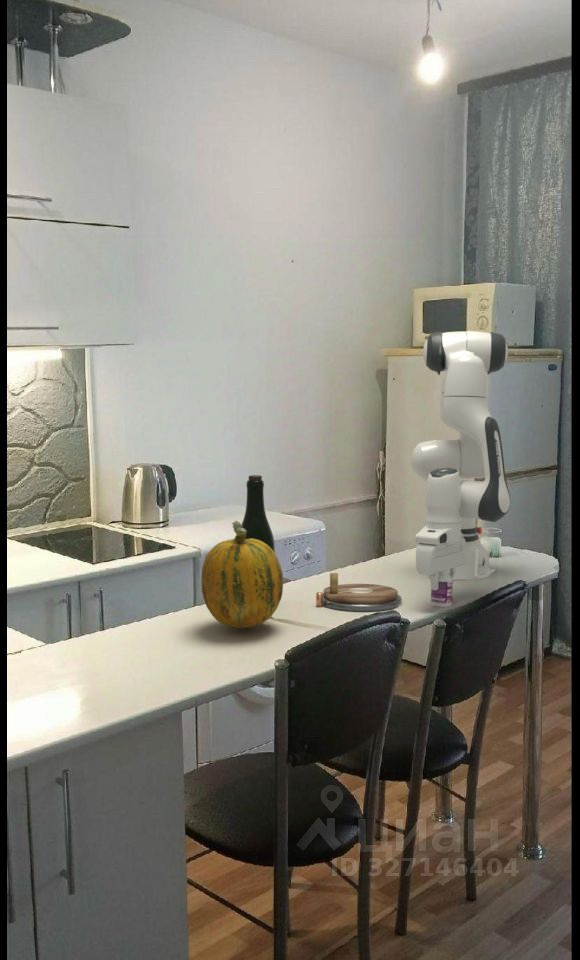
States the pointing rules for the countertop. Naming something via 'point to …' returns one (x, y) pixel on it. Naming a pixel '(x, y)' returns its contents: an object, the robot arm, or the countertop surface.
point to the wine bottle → (257, 513)
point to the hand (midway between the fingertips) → (442, 587)
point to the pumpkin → (241, 581)
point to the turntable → (358, 593)
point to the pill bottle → (443, 590)
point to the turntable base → (356, 608)
